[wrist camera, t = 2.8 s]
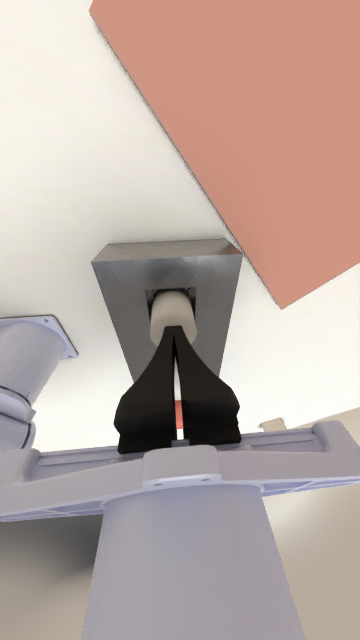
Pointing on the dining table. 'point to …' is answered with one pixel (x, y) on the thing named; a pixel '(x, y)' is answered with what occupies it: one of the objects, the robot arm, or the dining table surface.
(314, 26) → the notebook
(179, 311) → the plug
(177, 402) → the red plug
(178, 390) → the plug
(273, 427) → the architectural model
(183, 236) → the dining table surface
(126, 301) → the block
